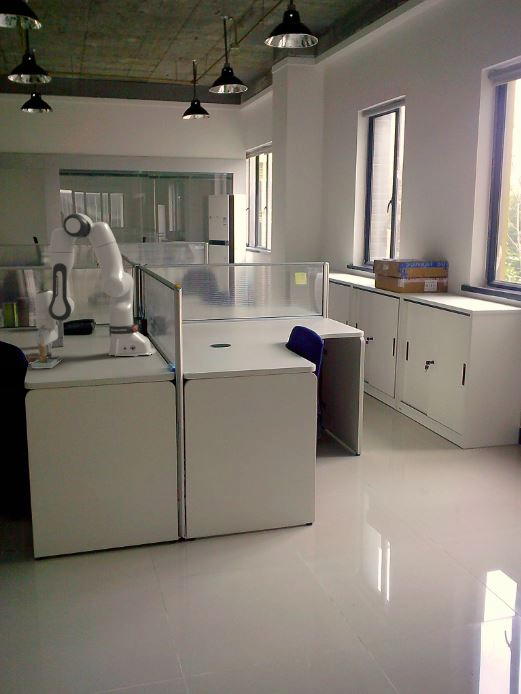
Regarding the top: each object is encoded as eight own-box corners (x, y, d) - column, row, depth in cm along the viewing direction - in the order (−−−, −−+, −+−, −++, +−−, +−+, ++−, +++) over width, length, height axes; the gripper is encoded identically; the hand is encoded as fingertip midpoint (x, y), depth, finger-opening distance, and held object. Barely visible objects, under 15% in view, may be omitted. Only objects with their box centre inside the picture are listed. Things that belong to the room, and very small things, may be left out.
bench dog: (43, 362, 311) (43, 356, 310) (41, 364, 308) (41, 357, 307) (30, 362, 311) (30, 356, 311) (28, 364, 308) (28, 357, 308)
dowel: (48, 364, 304) (46, 343, 301) (46, 366, 301) (44, 344, 298) (41, 364, 303) (39, 343, 301) (39, 366, 300) (37, 345, 298)
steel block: (52, 357, 324) (51, 352, 324) (51, 359, 320) (50, 354, 319) (39, 358, 323) (38, 352, 323) (38, 360, 318) (37, 355, 318)
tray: (57, 364, 306) (57, 359, 305) (51, 368, 298) (51, 363, 297) (37, 365, 306) (37, 359, 306) (31, 369, 298) (31, 363, 298)
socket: (61, 361, 313) (61, 357, 313) (57, 364, 307) (57, 359, 307) (48, 361, 313) (48, 357, 313) (44, 364, 307) (44, 360, 307)
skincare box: (47, 348, 345) (44, 317, 342) (48, 345, 352) (45, 315, 349) (64, 346, 348) (62, 316, 344) (64, 344, 354) (62, 314, 351)
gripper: (45, 327, 313) (47, 356, 316) (59, 320, 333) (61, 347, 336) (31, 327, 314) (34, 356, 316) (46, 320, 334) (49, 348, 336)
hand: (48, 352), depth 326 cm, fingers closed
